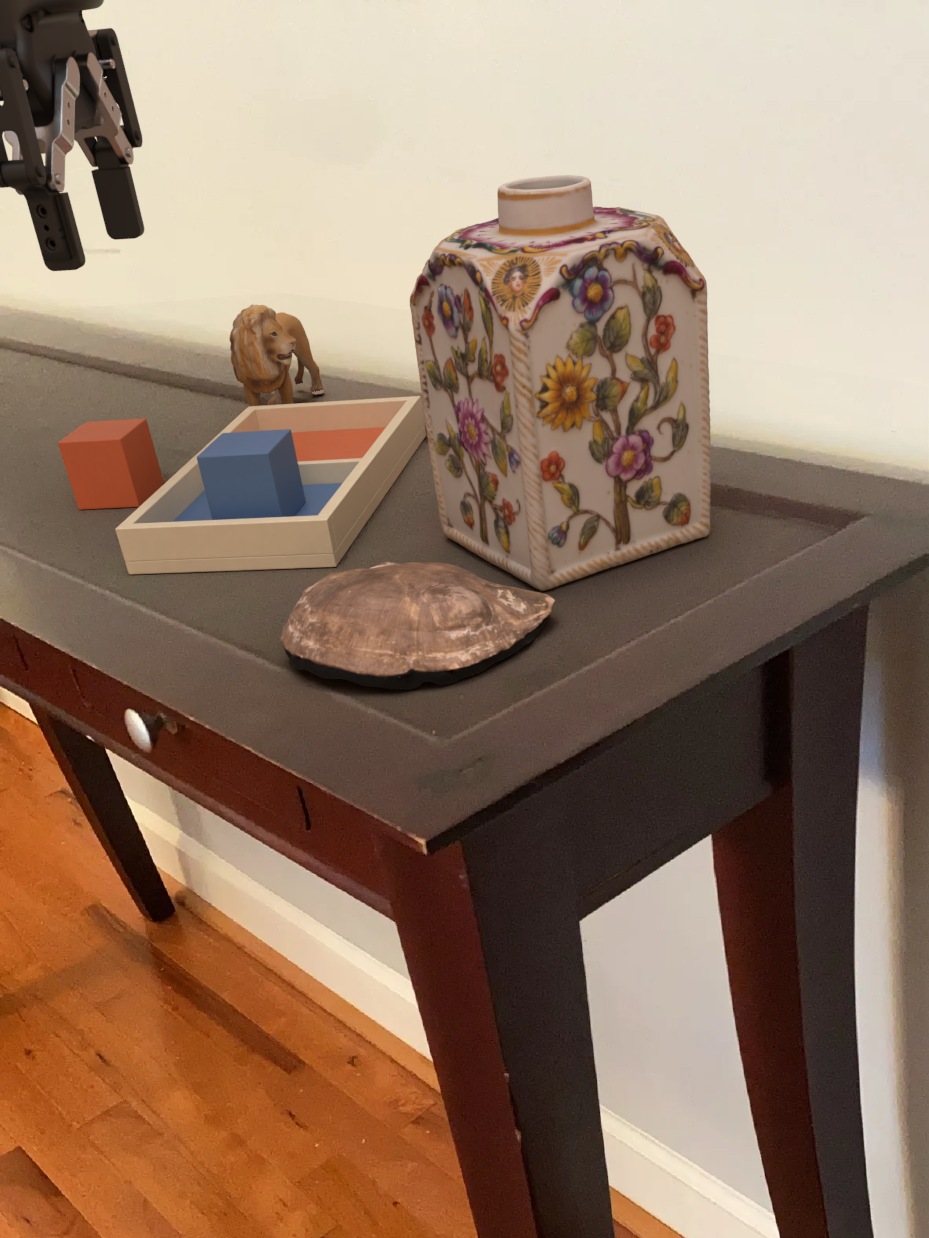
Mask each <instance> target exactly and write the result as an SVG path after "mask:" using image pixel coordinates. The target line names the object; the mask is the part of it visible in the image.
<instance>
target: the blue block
mask: <svg viewBox="0 0 929 1238" xmlns="http://www.w3.org/2000/svg"><path fill="white" fill-rule="evenodd" d="M197 461H198V465H199V469H200V473H201V477H202V481H203V485H204V489H205V493H206V497H207V501H208V504H209V508H210V512H211V516H212V520H225V519H248V518H270V517H293V516H295V515H296V513H297V512H298V511H299V510H300V508H301V507H302V506H303V505H304V503H305V502H306V500H305V495H304V490H303V486H302V481H301V476H300V471H299V466H298V461H297V457H296V452H295V447H294V442H293V437H292V432H291V429H284V430H267V431H250V432H233V433H222V434H221V435H220V436H219V437H218V438H217V439H215V440H214V441H213V442H212V443H211V444H210V445H209V446H208V447H207V448H206V449H205V450H204V451H202V452H201V453H200V454H199V455H198V456H197Z"/></svg>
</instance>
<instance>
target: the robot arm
mask: <svg viewBox="0 0 929 1238" xmlns="http://www.w3.org/2000/svg"><path fill="white" fill-rule="evenodd" d="M104 2H105V0H0V102H3V103H2V104H0V188H1V189H3V188H10V189H14V190H15V192H16V193H17V194H18V195H19V196H23V197H24V198H25V201H26V204H27V207H28V212H29V214H30V218H31V221H32V224H33V228H34V232H35V235H36V240H37V243H38V247H39V250H40V253H41V256H42V259H43V263H44V265H45V267H46V269H48V270H50V271H51V272H63V271H65V272H66V271H77V270H78V269H80V268H82V267H84V266H85V264H86V255H85V251H84V247H83V244H82V240H81V237H80V236H81V235H80V233H79V229H78V226H77V221H76V217H75V213H74V210H73V207H72V203H71V199H70V195H69V192H67V191H65V192H64V190H65V185H66V184H65V183H66V156H67V154H68V153H70V152H71V151H72V150H73V149H74V146H75V142H76V143H77V144H78V146H79V148H80V149H81V151H82V153H83V154H84V156H85V158H86V159H87V161H88V163H89V164H90V166H91V167H93V168H95V169H93V170H90V171H91V176H92V180H93V184H94V188H95V192H96V197H97V199H98V204H99V208H100V211H101V216H102V219H103V223H104V227H105V231H106V234H107V235H108V237H109V238H111V240H132V239H137V238H139V237H141V236H142V235H144V233H145V225H144V220H143V216H142V212H141V208H140V203H139V198H138V196H137V191H136V186H135V183H134V178H133V175H132V170H131V167H130V165H133V164H134V161H135V159H134V158H135V155H134V150H133V149H136V148H137V149H138V148H142V146H143V133H142V130H141V127H140V126H141V125H140V123H139V118H138V114H137V110H136V106H135V102H134V97H133V94H132V91H131V87H130V83H129V79H128V74H127V70H126V67H125V62H124V58H123V54H122V51H121V47H120V43H119V39H118V35H117V33H116V31H115V30H114V29H113V28H112V27H107V28H98V29H97V28H96V29H88V27H87V25H86V21H85V19H84V17H83V16H84V15H83V11H88V10H94V9H98V8H100V7H101V6H103V4H104ZM121 121H122V124H121ZM4 140H5V141H6V142H7V143H8V144H9V146H11V147H12V148H11V149H12V151H11V152H12V153H11V159H9V157H8V152H7V150H6V149H7V148H6V145H5V142H4ZM42 154H43V155H44V159H43V155H42Z"/></svg>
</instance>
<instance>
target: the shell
mask: <svg viewBox="0 0 929 1238" xmlns="http://www.w3.org/2000/svg"><path fill="white" fill-rule="evenodd" d="M301 594H302V595H301V597H300V598H299V599H298V600H297V602H296V603H295V605H294V607H293V609H292V610H291V612H290V614H289V617H288V619H287V621H286V623H285V624H284V626H283V627H282V633H281V635H280V638H279V641H280V643H281V644H282V646H283V651H284V652H285V655H286V656H287V658H288V660H289V661H290V663H291V665H292V666H293V668H294V669H295V670H297V671H299V670H301V671H302V670H305V671H307V672H309V673H311V674H313V675H315V676H318V677H319V678H320V679H328V680H338V679H340V680H345V681H348V682H351V683H354V684H357V685H359V686H361V687H367V688H369V687H371V688H378V689H388V690H398V691H399V690H402V691H403V690H404V691H406V690H407V691H411V690H415V689H417V688H419V687H421V686H422V684H423V683H429V682H430V683H432V684H437V685H438V686H447V685H452V684H451V683H453V684H454V683H456V682H457V681H462V680H463V679H465V678H466V677H472V676H473V675H475V676H477V675H478V674H481V673H482V672H486V670H487V669H488V668H490V666H493V665H494V664H496V663H498V662H501V661H503V660H505V659H507V658H509V657H511V656H512V655H514V654H515V653H518V652H519V651H520V650H521V649H522V648H524V647H525V645H528V644H530V643H532V642H534V641H535V640H536V638H537V636H538V635H539V634H540V632H541V631H542V630H543V628H544V627H545V625H546V623H547V621H548V618H549V617H550V616H551V615H552V612H553V611H552V610H553V608H554V605H555V603H556V600H555V599H554V598H553V596H550V595H549V594H547V593H544V592H543V593H542V592H541V591H540V592H539V591H534V590H528V589H524V588H519V587H516V586H508V585H504V584H500V583H495V582H493V581H490V580H486V579H484V578H481V577H479V576H477V575H476V574H474V573H473V572H472V571H469V570H468V569H465V568H463V567H461V566H459V564H457V563H444V562H429V561H411V562H403V563H397V562H395V561H382V562H380V563H379V564H378V563H377V564H375V565H373V566H371V567H367V568H365V567H359V568H355V569H349V570H345V571H341V572H339V571H332V572H330V573H328V574H327V575H326V576H324V577H322V578H319V580H318V581H316V582H315V583H314V584H312V585H311V586H308V587H306V588H304V589H303V591H302V593H301Z"/></svg>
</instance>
